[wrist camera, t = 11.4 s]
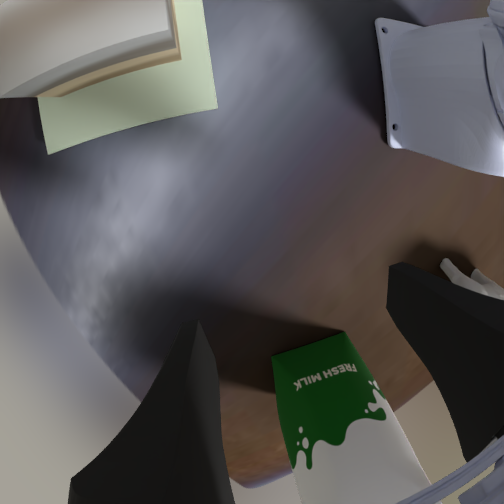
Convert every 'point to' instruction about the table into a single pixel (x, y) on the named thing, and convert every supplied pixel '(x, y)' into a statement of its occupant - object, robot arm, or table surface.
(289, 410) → the milk carton
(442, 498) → the robot arm
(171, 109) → the stand
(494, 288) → the dog figurine
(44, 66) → the cream layered block
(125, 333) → the table surface
